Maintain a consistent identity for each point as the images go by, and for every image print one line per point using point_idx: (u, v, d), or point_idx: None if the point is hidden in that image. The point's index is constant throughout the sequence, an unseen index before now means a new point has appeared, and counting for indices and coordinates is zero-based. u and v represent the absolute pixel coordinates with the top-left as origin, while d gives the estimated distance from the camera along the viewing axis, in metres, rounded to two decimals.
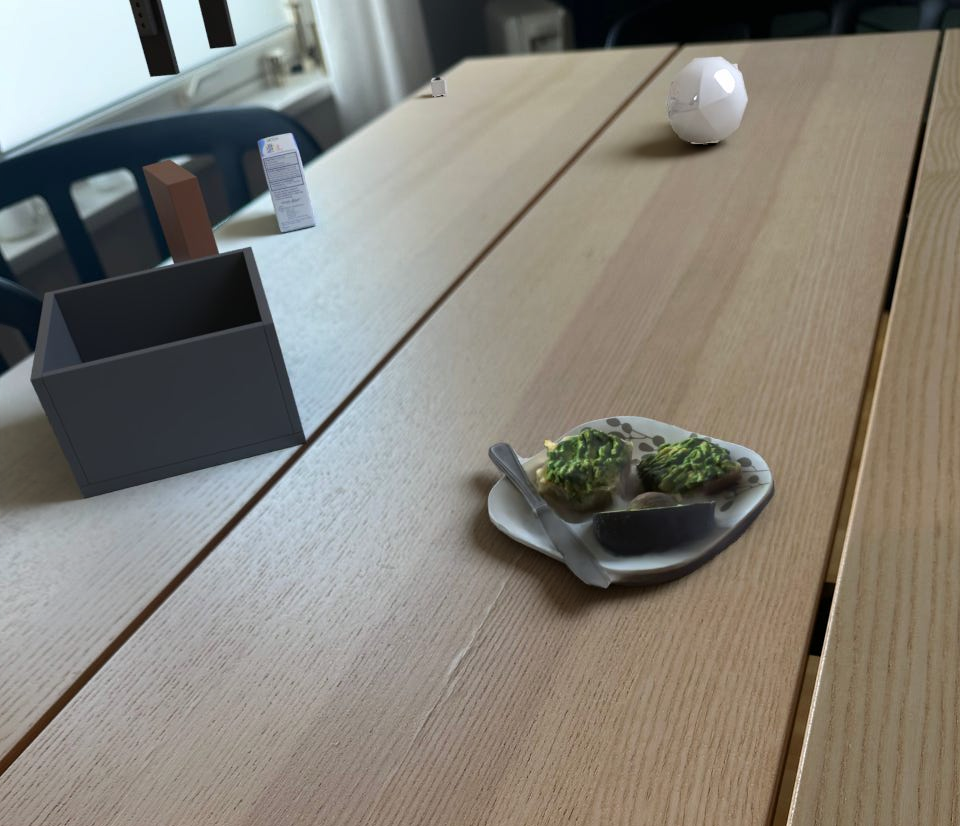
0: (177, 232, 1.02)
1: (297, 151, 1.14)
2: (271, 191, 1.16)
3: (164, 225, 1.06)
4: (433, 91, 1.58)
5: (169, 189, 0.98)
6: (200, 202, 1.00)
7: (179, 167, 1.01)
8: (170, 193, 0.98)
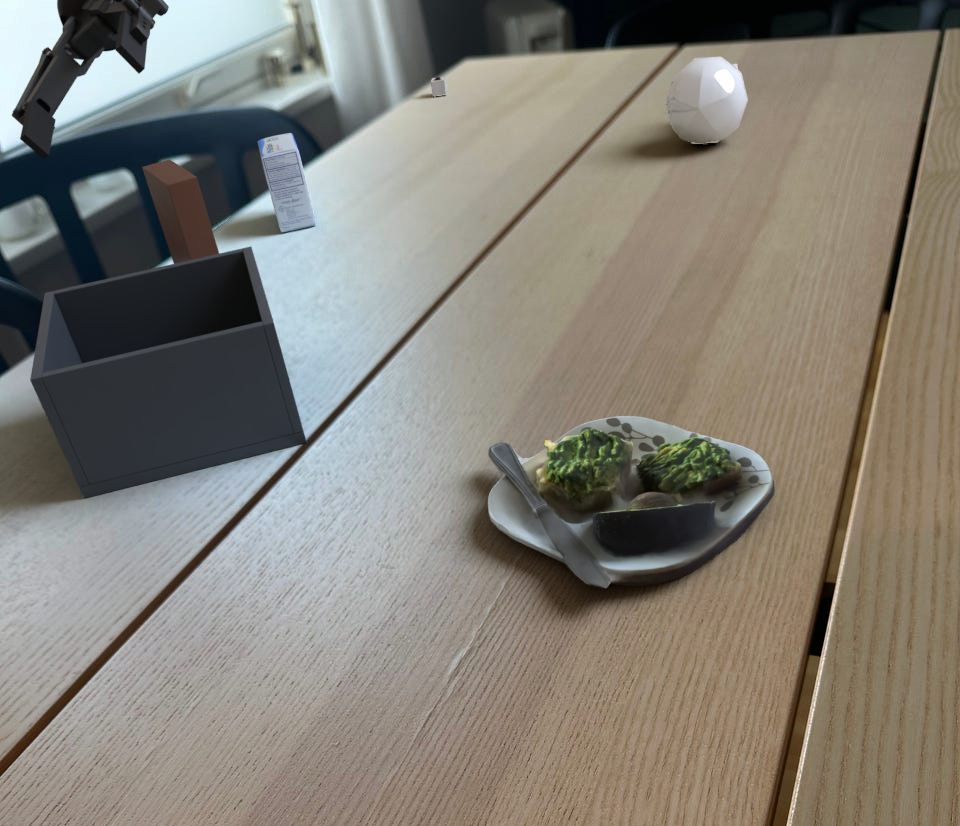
0: (177, 232, 1.02)
1: (297, 151, 1.14)
2: (271, 191, 1.16)
3: (164, 225, 1.06)
4: (433, 91, 1.58)
5: (169, 189, 0.98)
6: (200, 202, 1.00)
7: (179, 167, 1.01)
8: (170, 193, 0.98)
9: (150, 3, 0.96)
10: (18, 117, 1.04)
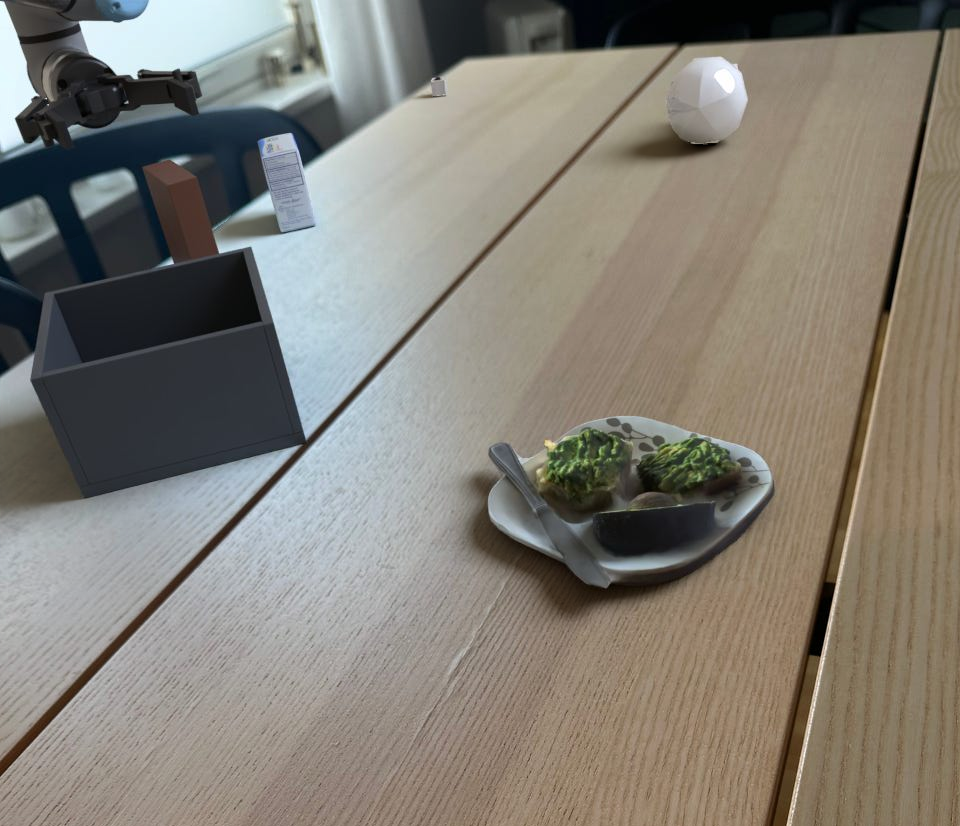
0: (177, 232, 1.02)
1: (297, 151, 1.14)
2: (271, 191, 1.16)
3: (164, 225, 1.06)
4: (433, 91, 1.58)
5: (169, 189, 0.98)
6: (200, 202, 1.00)
7: (179, 167, 1.01)
8: (170, 193, 0.98)
9: (192, 83, 1.13)
10: (23, 122, 1.07)
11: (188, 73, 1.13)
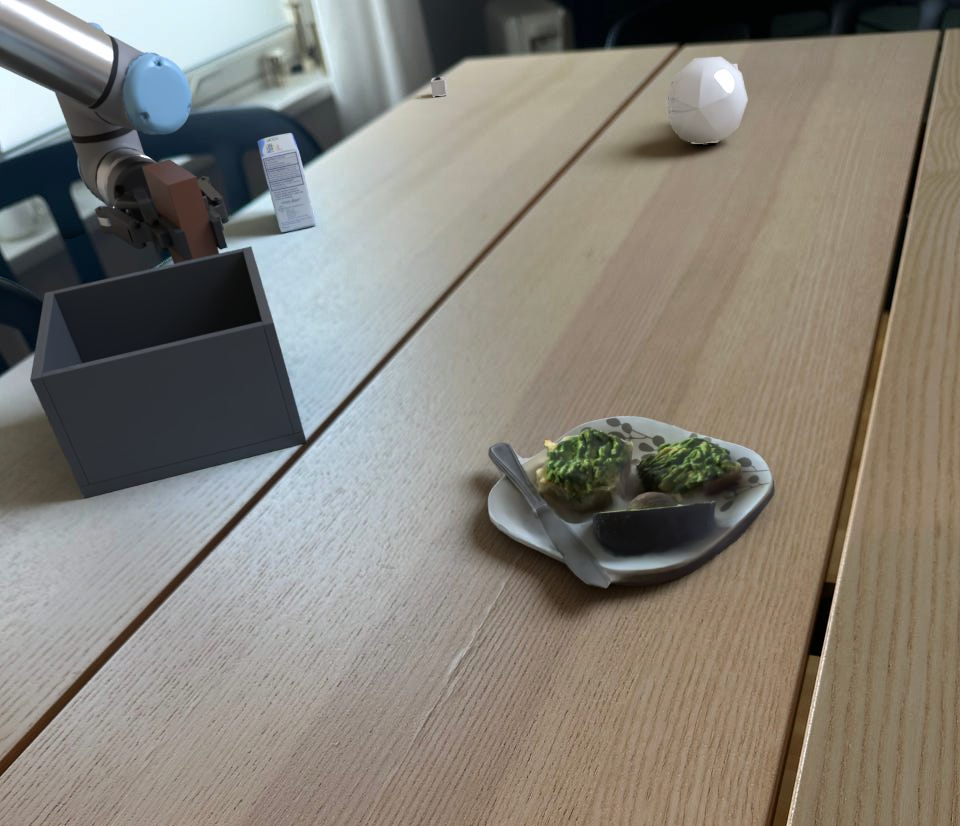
0: None
1: (297, 151, 1.14)
2: (271, 191, 1.16)
3: None
4: (433, 91, 1.58)
5: (169, 189, 0.98)
6: (200, 202, 1.00)
7: (179, 167, 1.01)
8: (170, 193, 0.98)
9: (215, 210, 1.07)
10: (136, 228, 1.04)
11: (213, 199, 1.07)
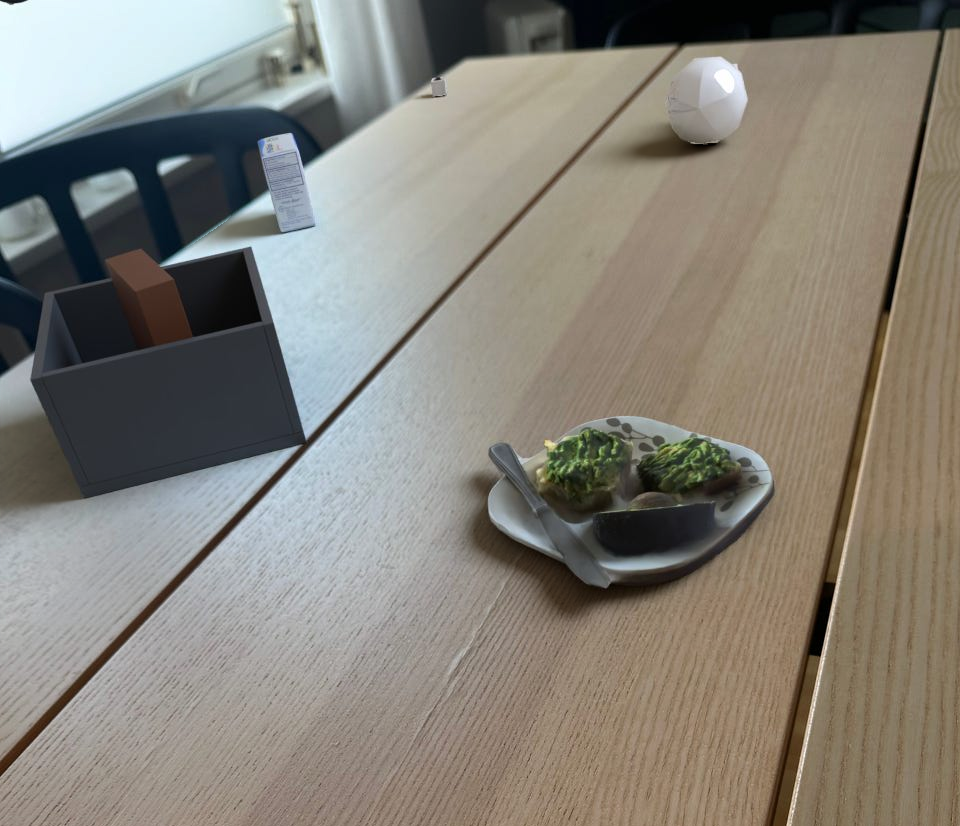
0: (150, 346, 0.79)
1: (297, 151, 1.14)
2: (271, 191, 1.16)
3: (134, 332, 0.82)
4: (433, 91, 1.58)
5: (137, 296, 0.74)
6: (179, 310, 0.76)
7: (152, 262, 0.78)
8: (139, 301, 0.74)
9: None
10: None
11: None
